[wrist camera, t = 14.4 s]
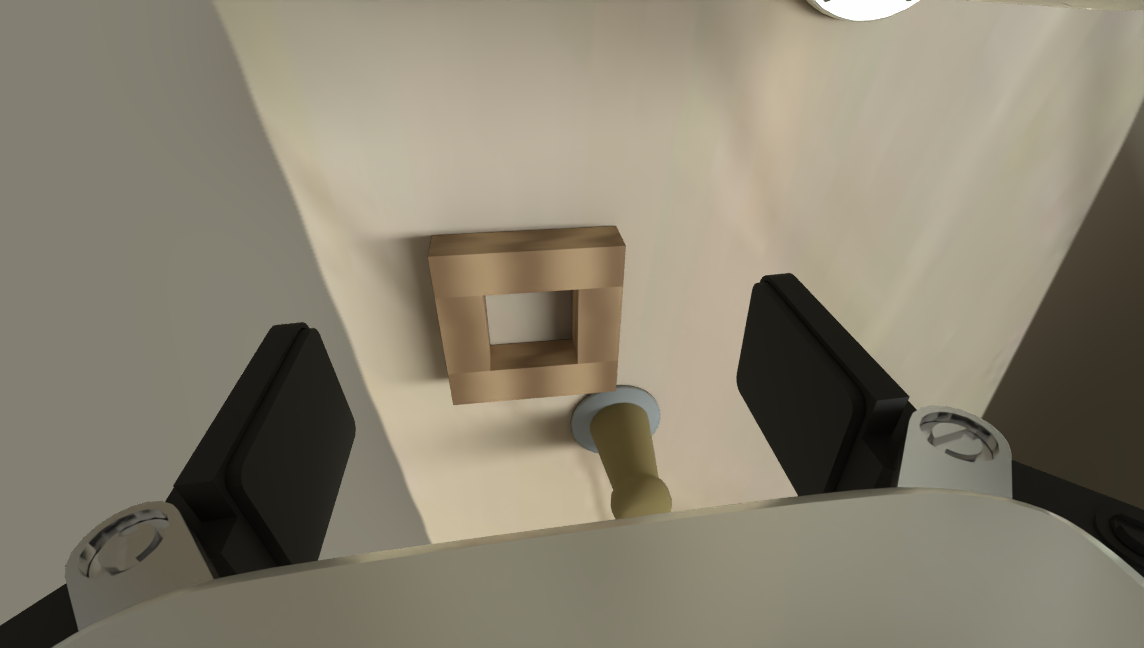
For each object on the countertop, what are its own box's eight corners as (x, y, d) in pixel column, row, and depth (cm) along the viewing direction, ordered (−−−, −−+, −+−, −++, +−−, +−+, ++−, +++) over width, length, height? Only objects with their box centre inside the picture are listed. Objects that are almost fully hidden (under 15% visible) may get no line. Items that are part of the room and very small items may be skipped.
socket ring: (616, 226, 40) (625, 245, 37) (608, 366, 48) (615, 391, 45) (432, 235, 39) (427, 256, 36) (455, 378, 47) (453, 405, 44)
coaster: (663, 381, 50) (664, 385, 50) (654, 445, 55) (655, 449, 55) (571, 389, 49) (571, 393, 49) (570, 453, 54) (571, 458, 54)
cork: (584, 445, 53) (603, 542, 44) (595, 401, 50) (618, 497, 41) (641, 446, 54) (670, 541, 45) (655, 403, 51) (690, 496, 42)
